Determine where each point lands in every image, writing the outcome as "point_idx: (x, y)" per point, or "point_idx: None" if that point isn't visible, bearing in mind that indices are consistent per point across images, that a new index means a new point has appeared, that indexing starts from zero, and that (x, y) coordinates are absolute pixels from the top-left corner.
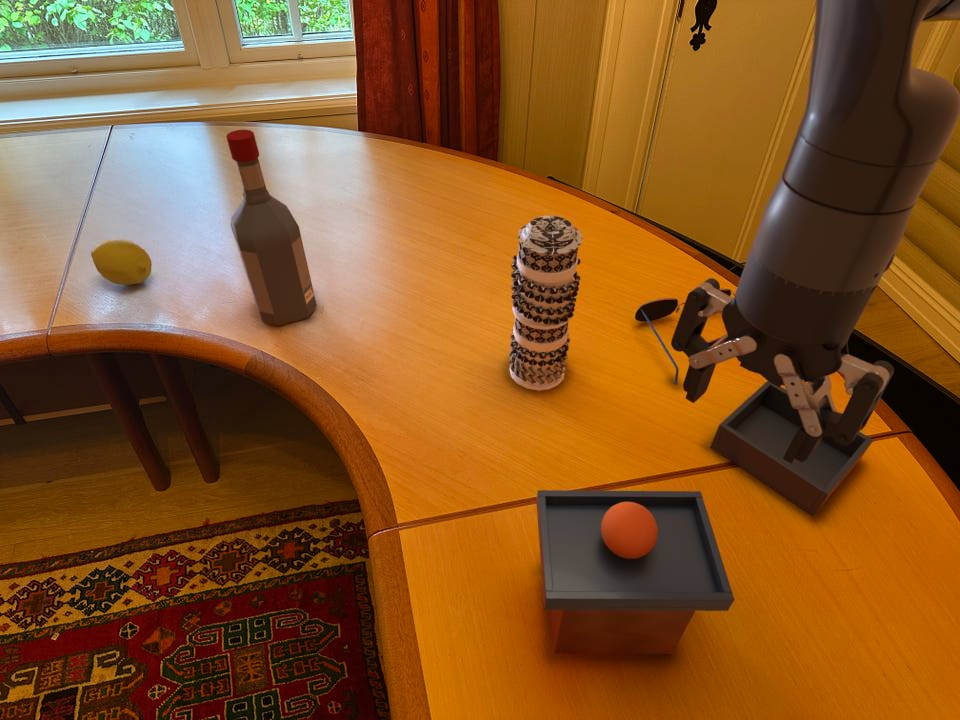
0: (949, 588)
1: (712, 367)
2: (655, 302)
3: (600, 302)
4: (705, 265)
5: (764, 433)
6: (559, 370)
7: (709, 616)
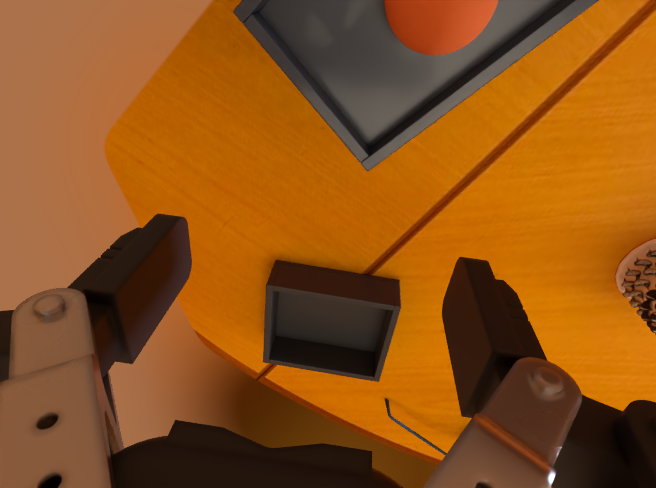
0: None
1: (464, 384)
2: None
3: (606, 398)
4: None
5: (356, 322)
6: (636, 280)
7: None
